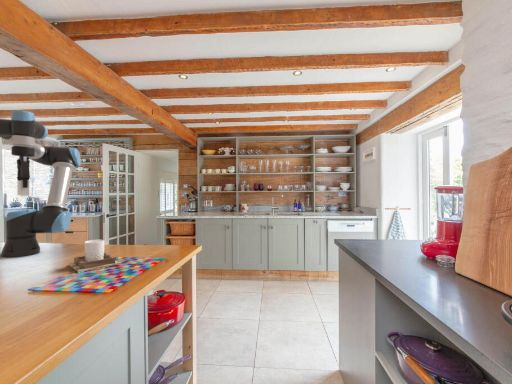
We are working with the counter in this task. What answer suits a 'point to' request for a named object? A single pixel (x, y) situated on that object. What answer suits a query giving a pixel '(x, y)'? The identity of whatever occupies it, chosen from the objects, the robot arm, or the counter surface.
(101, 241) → the white cup
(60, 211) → the robot arm
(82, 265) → the cup holder
